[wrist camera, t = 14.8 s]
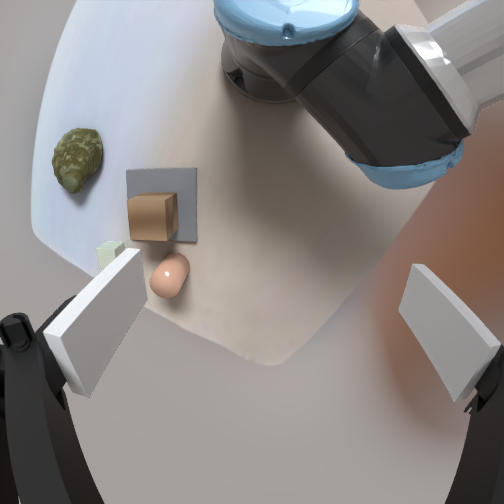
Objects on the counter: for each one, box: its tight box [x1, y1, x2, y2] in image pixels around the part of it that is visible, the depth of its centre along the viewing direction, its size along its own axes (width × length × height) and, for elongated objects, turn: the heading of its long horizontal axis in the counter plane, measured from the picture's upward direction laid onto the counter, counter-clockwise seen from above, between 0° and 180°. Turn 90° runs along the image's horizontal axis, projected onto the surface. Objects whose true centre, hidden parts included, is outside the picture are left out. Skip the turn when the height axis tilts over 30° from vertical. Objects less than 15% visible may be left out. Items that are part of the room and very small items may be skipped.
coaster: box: [126, 168, 197, 242], centre depth 43 cm, size 12×12×1 cm
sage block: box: [96, 241, 125, 270], centre depth 45 cm, size 4×4×4 cm
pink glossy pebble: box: [150, 253, 190, 299], centre depth 44 cm, size 5×5×7 cm
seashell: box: [52, 128, 102, 194], centre depth 38 cm, size 10×7×10 cm
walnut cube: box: [127, 192, 178, 241], centre depth 40 cm, size 6×6×6 cm
